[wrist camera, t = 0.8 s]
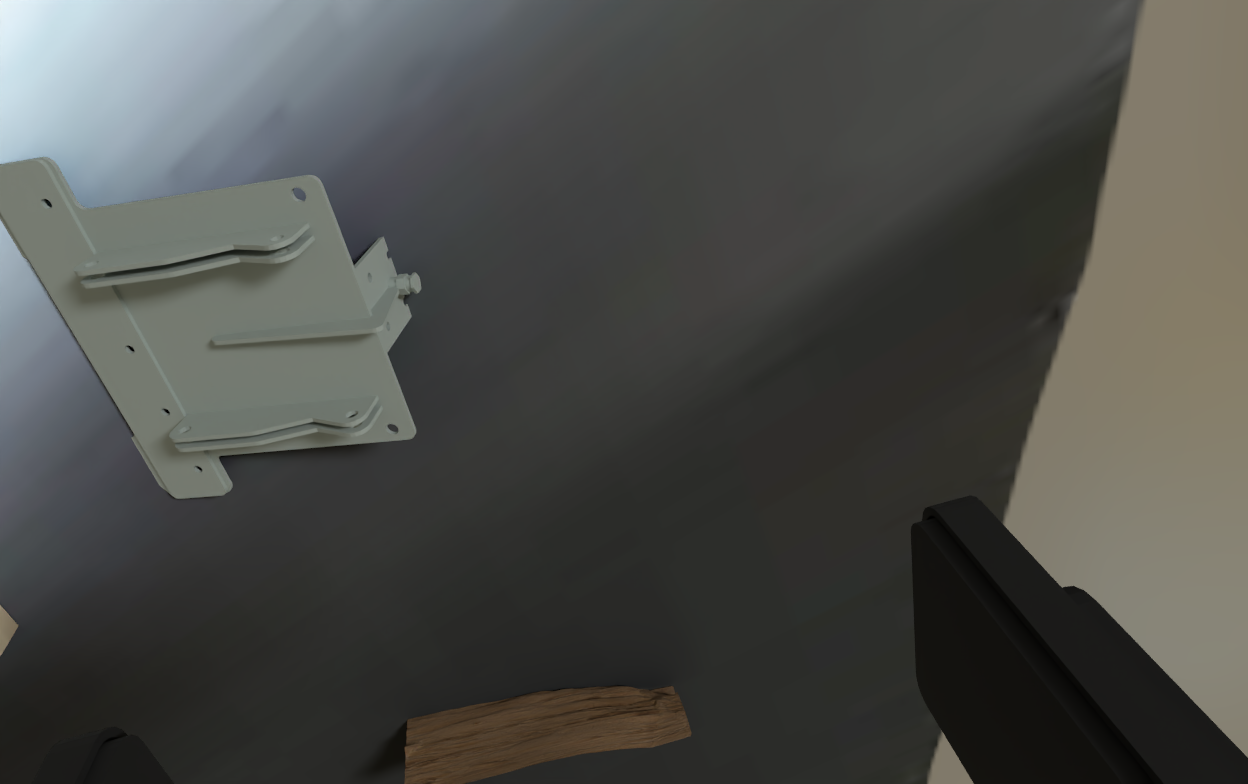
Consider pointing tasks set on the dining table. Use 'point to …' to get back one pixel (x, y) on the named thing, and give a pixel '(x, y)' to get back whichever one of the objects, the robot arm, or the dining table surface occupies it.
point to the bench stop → (6, 629)
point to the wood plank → (538, 731)
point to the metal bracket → (220, 317)
